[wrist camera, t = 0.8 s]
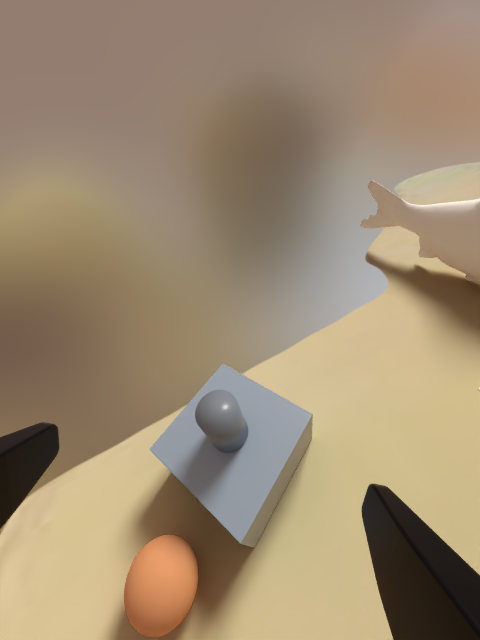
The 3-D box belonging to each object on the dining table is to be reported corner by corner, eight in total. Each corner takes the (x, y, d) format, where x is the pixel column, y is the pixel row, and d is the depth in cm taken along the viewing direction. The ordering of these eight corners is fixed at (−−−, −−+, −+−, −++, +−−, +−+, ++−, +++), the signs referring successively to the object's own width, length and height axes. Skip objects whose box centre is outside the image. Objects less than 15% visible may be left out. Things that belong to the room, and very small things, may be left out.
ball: (201, 632, 17) (174, 650, 14) (136, 625, 18) (95, 640, 15) (210, 538, 21) (190, 533, 17) (155, 535, 22) (125, 530, 18)
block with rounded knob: (311, 438, 25) (313, 388, 18) (254, 547, 20) (224, 539, 13) (234, 390, 30) (211, 337, 23) (174, 467, 25) (122, 430, 18)
